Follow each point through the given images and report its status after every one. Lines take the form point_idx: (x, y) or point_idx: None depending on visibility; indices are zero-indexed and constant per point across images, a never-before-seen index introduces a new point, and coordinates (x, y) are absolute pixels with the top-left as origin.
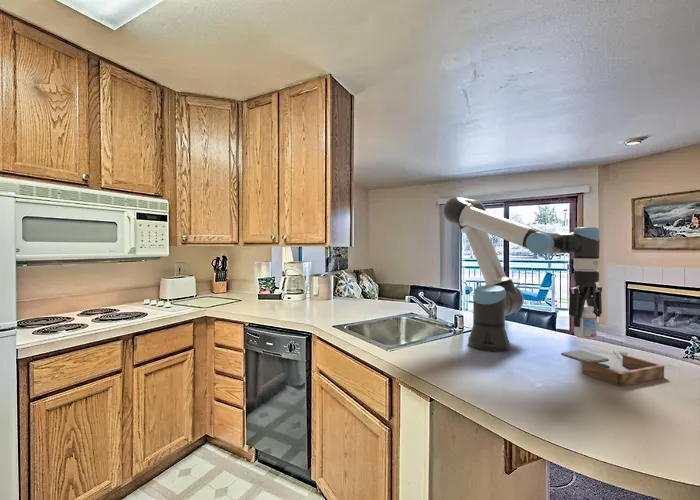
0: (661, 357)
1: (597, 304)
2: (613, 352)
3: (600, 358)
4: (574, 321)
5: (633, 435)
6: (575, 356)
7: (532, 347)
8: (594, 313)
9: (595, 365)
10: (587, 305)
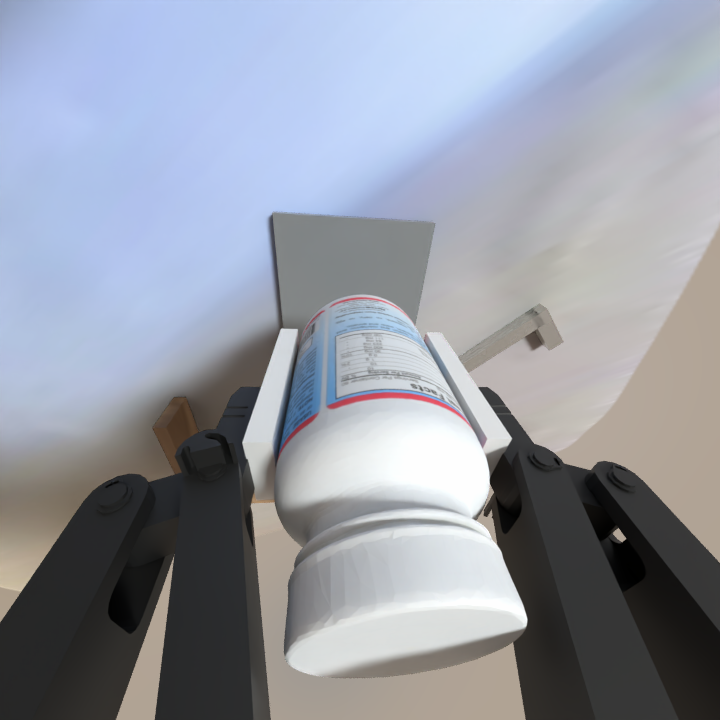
0: (608, 391)
1: (657, 657)
2: (536, 309)
3: None
4: (221, 426)
5: (43, 557)
6: (293, 289)
7: None
8: (508, 509)
9: (170, 459)
10: (516, 629)
